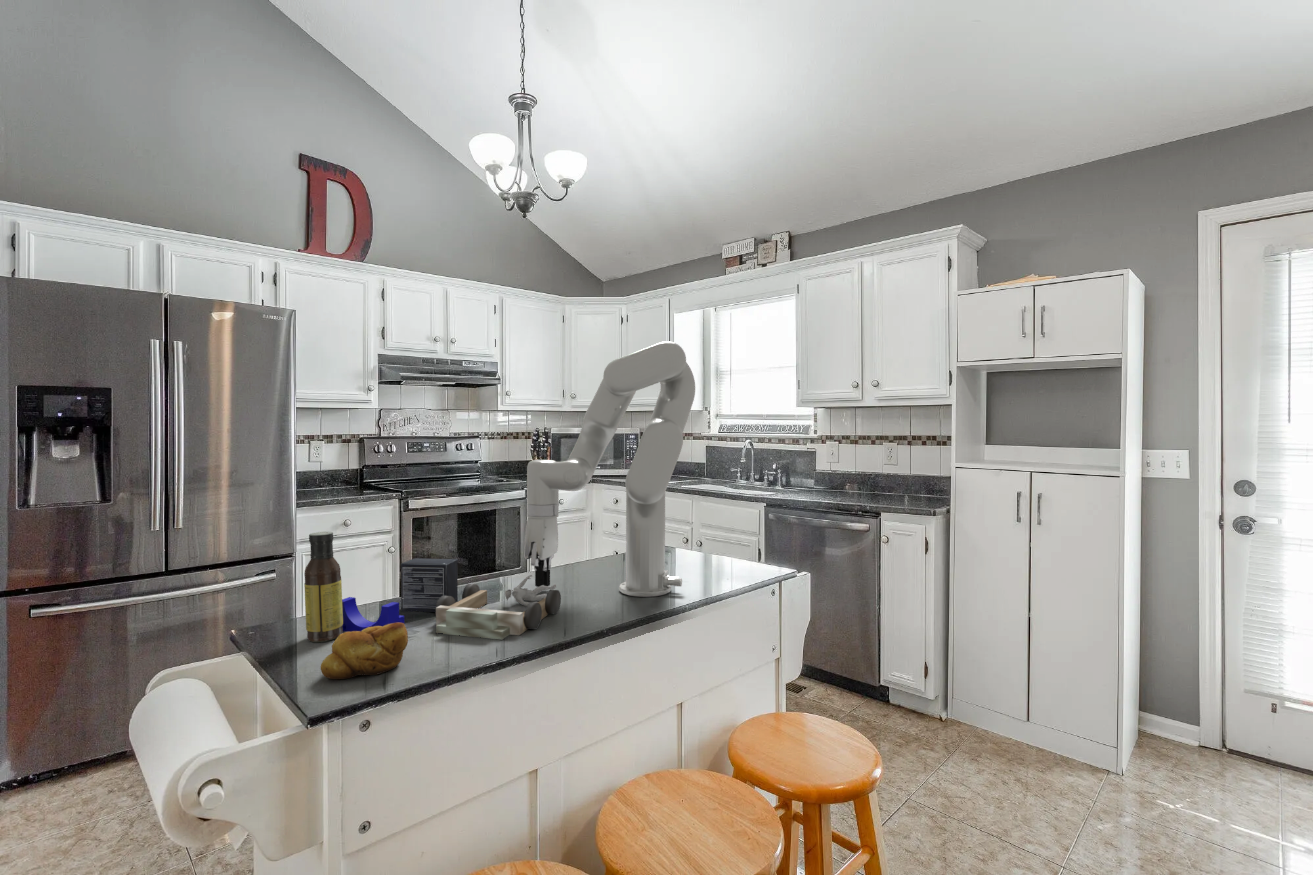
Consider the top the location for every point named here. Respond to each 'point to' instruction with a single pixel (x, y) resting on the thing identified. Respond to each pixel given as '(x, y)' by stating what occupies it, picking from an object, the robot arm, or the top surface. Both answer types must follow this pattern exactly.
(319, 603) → the sauce bottle
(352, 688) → the top surface
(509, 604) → the top surface
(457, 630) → the chassis
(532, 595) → the soldier figure
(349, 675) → the bread roll
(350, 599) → the blue cradle block
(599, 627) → the top surface
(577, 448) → the robot arm
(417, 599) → the small box
